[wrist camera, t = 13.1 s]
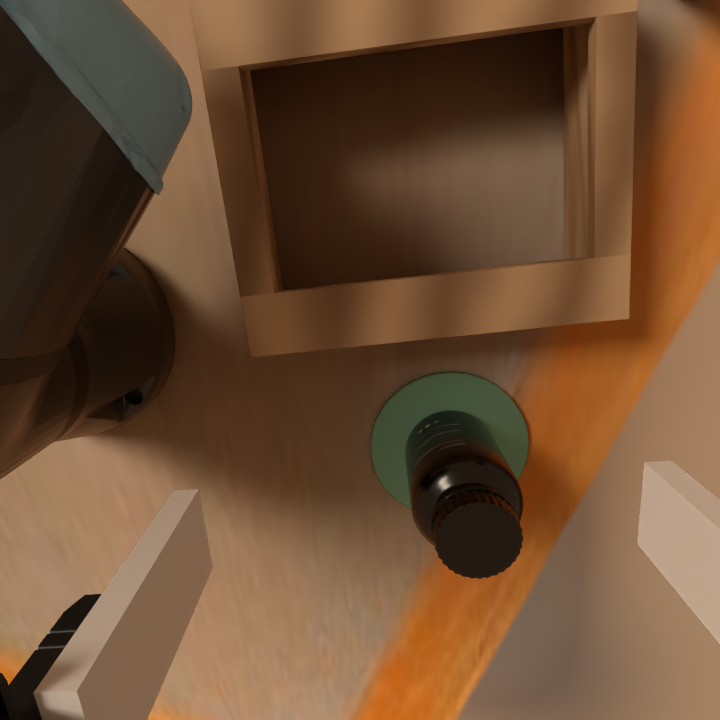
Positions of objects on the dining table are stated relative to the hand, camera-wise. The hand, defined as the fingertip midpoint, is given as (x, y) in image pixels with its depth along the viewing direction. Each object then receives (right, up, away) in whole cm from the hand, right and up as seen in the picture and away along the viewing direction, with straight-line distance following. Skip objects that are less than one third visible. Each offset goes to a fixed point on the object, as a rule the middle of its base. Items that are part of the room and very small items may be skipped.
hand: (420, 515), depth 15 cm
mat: (+5, -2, +24) cm, 25 cm away
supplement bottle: (+5, -2, +24) cm, 25 cm away
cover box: (+2, +17, +19) cm, 26 cm away
